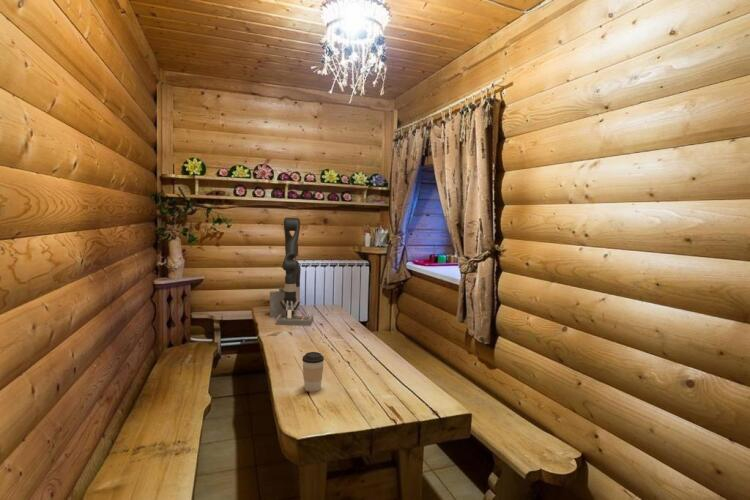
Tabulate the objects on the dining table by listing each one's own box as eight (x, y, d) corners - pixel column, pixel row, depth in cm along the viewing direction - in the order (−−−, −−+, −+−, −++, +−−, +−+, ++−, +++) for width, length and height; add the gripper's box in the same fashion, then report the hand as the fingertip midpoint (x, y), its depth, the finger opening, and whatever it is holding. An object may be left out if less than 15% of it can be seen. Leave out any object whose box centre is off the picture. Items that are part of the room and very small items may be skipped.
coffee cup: (313, 381, 181) (314, 348, 180) (327, 387, 176) (328, 353, 174) (297, 388, 174) (297, 353, 173) (311, 394, 169) (312, 359, 167)
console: (280, 319, 281) (280, 313, 280) (313, 320, 281) (313, 314, 280) (276, 324, 269) (276, 317, 268) (310, 325, 269) (310, 319, 268)
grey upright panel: (269, 317, 286) (270, 288, 284) (269, 316, 290) (269, 287, 288) (293, 316, 291) (293, 288, 290) (292, 314, 295) (292, 287, 293)
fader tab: (289, 316, 277) (289, 309, 276) (292, 316, 277) (292, 309, 276) (287, 318, 272) (287, 310, 271) (291, 318, 272) (291, 311, 271)
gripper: (302, 289, 276) (301, 314, 278) (281, 288, 277) (280, 314, 278) (299, 291, 269) (299, 317, 271) (278, 290, 269) (278, 317, 271)
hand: (290, 315), depth 274 cm, fingers closed on fader tab, 2 cm apart
